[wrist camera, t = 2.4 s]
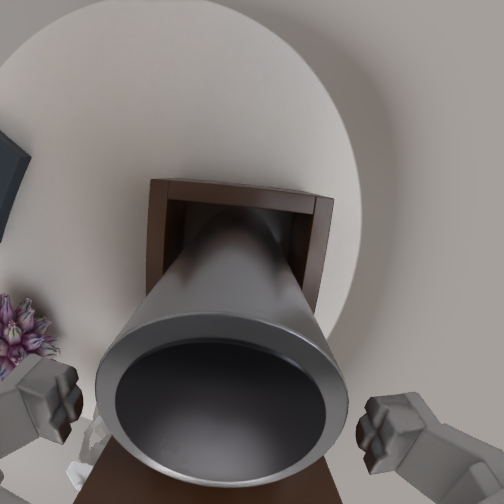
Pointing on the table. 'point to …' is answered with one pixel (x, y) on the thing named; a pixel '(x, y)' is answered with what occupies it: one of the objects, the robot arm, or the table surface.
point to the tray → (10, 176)
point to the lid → (195, 485)
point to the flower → (22, 335)
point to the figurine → (80, 470)
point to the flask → (224, 365)
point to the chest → (246, 197)
